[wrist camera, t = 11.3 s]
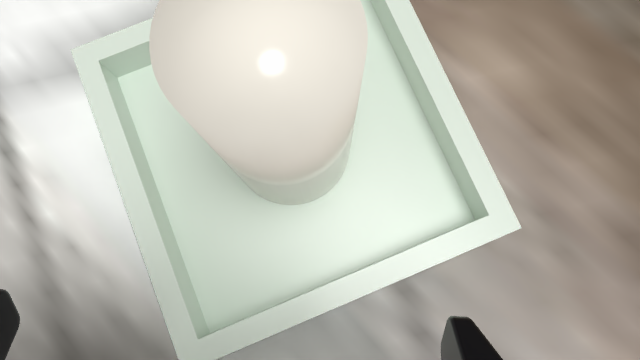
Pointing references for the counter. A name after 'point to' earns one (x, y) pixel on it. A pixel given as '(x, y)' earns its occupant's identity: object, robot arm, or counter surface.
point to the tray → (293, 220)
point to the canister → (266, 85)
